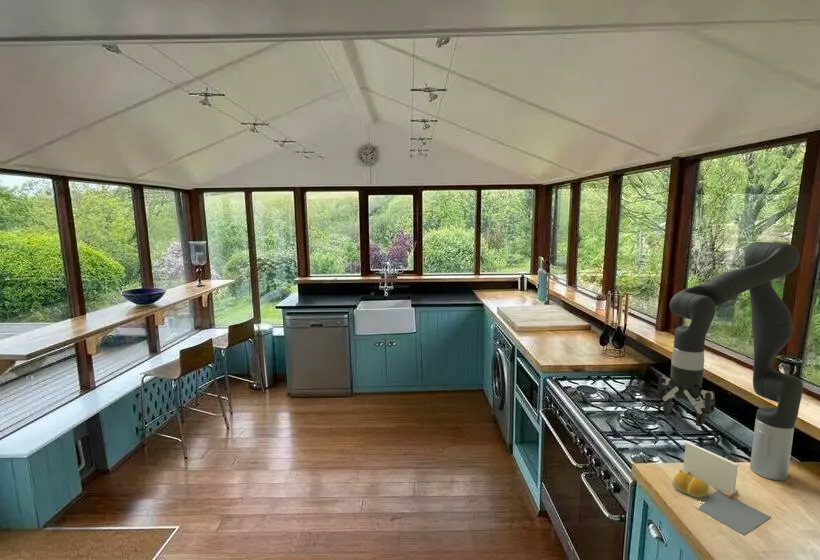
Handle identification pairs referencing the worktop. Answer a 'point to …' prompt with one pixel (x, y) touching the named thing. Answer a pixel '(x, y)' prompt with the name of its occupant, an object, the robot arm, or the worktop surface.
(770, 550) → the worktop surface
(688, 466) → the screen
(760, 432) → the robot arm
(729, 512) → the mat
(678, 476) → the bread roll
